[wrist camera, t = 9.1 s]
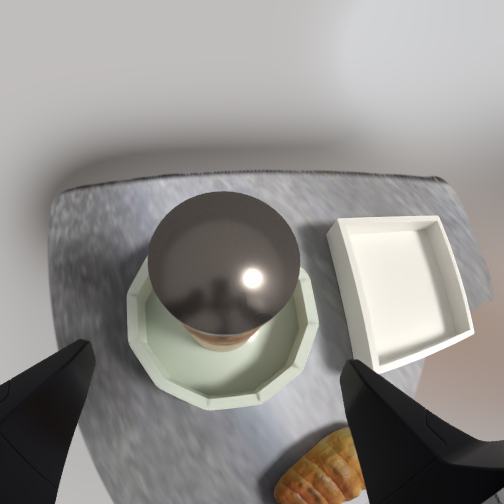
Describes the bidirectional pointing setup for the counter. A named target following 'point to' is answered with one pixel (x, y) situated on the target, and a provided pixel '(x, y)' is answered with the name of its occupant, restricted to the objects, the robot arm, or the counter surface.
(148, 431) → the counter surface
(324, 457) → the pastry
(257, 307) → the canister
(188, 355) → the bowl
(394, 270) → the tray
